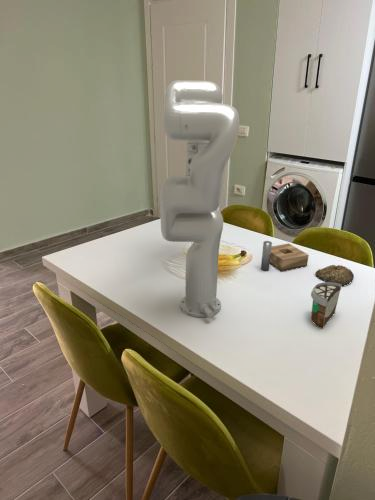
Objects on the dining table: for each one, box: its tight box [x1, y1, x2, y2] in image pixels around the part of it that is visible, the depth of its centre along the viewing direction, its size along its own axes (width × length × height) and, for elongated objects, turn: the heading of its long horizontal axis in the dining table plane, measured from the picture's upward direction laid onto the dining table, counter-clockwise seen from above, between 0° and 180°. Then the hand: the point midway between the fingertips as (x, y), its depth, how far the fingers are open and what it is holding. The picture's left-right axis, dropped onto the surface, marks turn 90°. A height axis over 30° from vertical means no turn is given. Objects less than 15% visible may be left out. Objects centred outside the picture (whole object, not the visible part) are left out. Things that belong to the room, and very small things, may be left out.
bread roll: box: [314, 264, 355, 286], centre depth 134 cm, size 13×12×5 cm
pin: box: [260, 240, 273, 272], centre depth 138 cm, size 3×3×11 cm
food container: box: [310, 281, 342, 329], centre depth 109 cm, size 12×6×10 cm, turn 141°
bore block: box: [269, 243, 309, 273], centre depth 145 cm, size 12×12×5 cm
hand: (196, 195), depth 138 cm, fingers open, 9 cm apart
